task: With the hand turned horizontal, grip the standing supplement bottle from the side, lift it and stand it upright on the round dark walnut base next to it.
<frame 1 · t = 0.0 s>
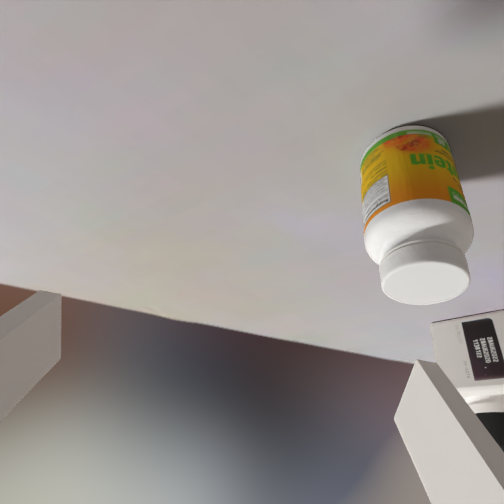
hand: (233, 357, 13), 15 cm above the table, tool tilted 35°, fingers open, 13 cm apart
container: (476, 328, 39), on the table
supplement bottle: (402, 157, 23), on the table
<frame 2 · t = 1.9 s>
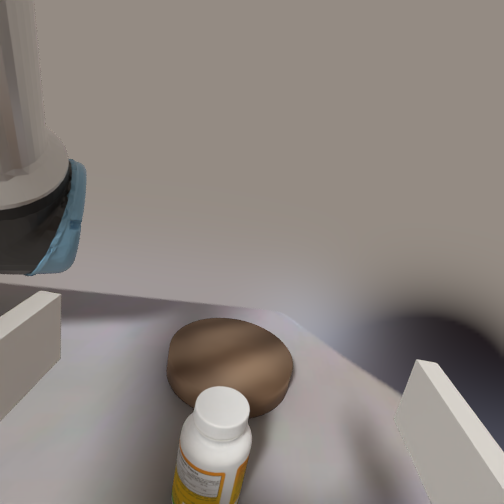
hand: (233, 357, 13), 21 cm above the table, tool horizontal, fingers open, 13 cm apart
walnut base: (228, 371, 44), on the table
supplement bottle: (204, 500, 29), on the table
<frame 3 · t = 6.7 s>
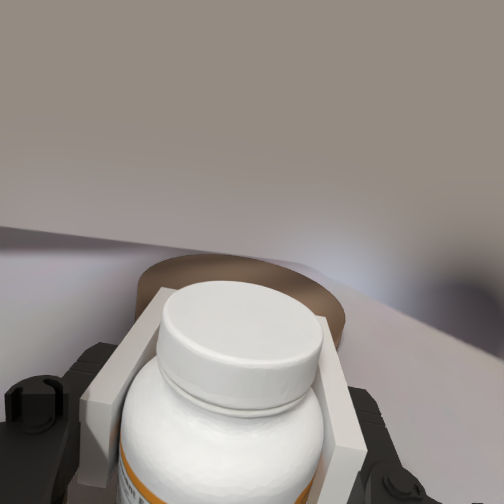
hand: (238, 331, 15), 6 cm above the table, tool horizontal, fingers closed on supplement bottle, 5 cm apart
walnut base: (237, 326, 27), on the table
when the fingers open (10 cm above the table, at t = 11.6 s): supplement bottle drops 1 cm, resting on walnut base.
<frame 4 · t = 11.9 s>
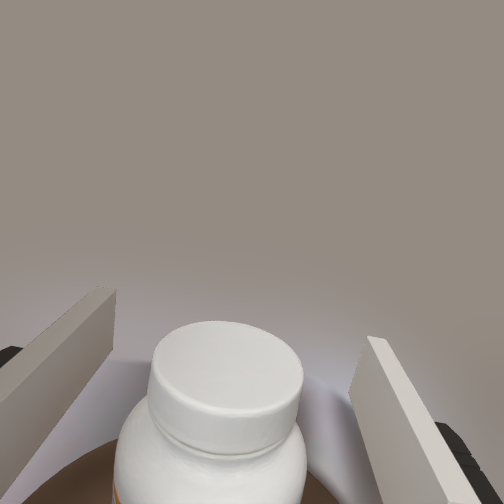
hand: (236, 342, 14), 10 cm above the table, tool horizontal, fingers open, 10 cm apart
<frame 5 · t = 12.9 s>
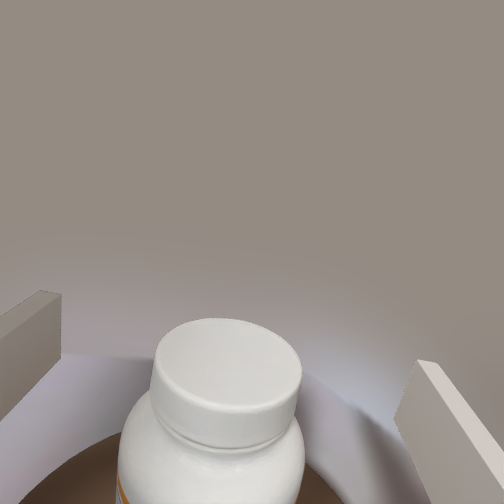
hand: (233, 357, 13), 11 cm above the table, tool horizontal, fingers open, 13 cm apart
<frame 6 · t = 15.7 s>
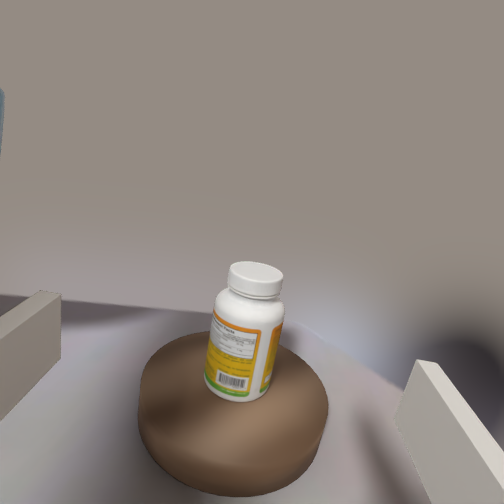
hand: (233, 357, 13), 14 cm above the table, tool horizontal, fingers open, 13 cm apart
walnut base: (231, 410, 29), on the table
supplement bottle: (235, 382, 29), point 3 cm above the table, touching walnut base
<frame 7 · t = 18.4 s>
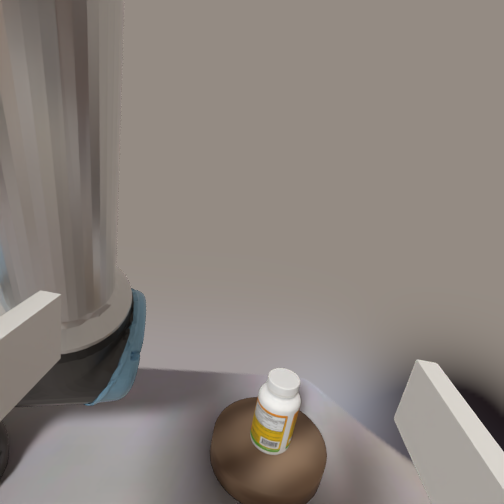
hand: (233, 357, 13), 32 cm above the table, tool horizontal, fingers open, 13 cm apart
walnut base: (265, 455, 47), on the table
supplement bottle: (269, 439, 46), point 3 cm above the table, touching walnut base
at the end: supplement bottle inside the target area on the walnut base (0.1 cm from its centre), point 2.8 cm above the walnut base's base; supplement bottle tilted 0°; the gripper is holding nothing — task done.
